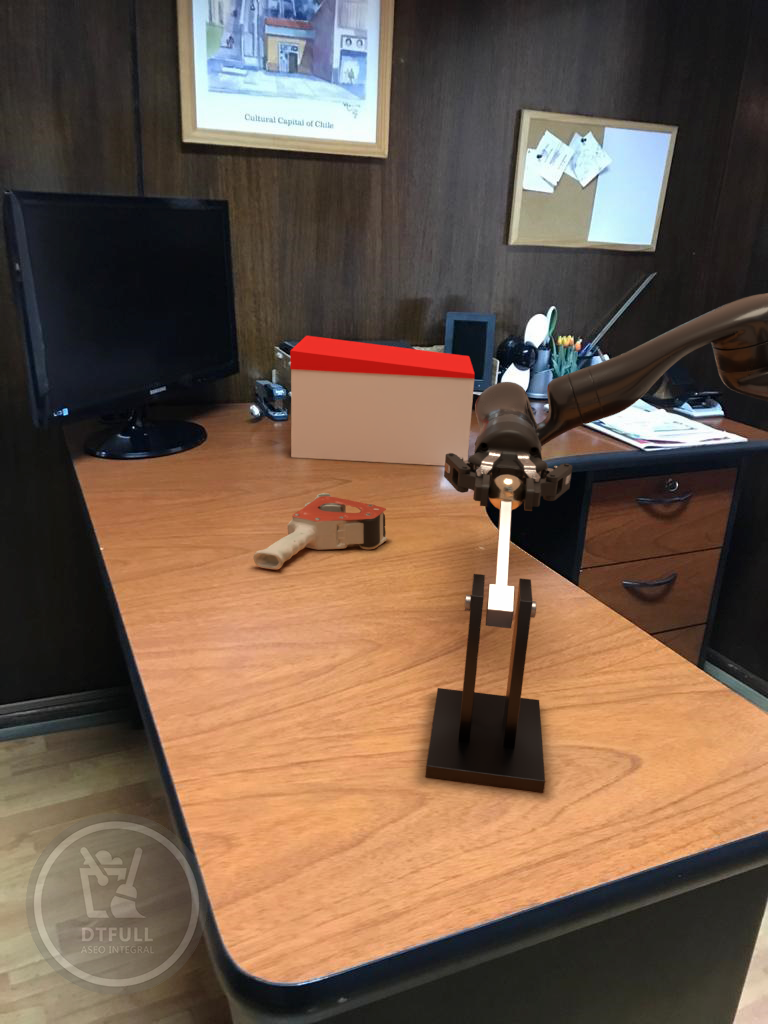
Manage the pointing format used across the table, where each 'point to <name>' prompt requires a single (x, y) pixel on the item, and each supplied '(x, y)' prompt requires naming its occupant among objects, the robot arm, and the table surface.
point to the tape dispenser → (326, 529)
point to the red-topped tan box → (378, 402)
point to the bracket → (490, 714)
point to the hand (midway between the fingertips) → (506, 498)
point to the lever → (503, 550)
